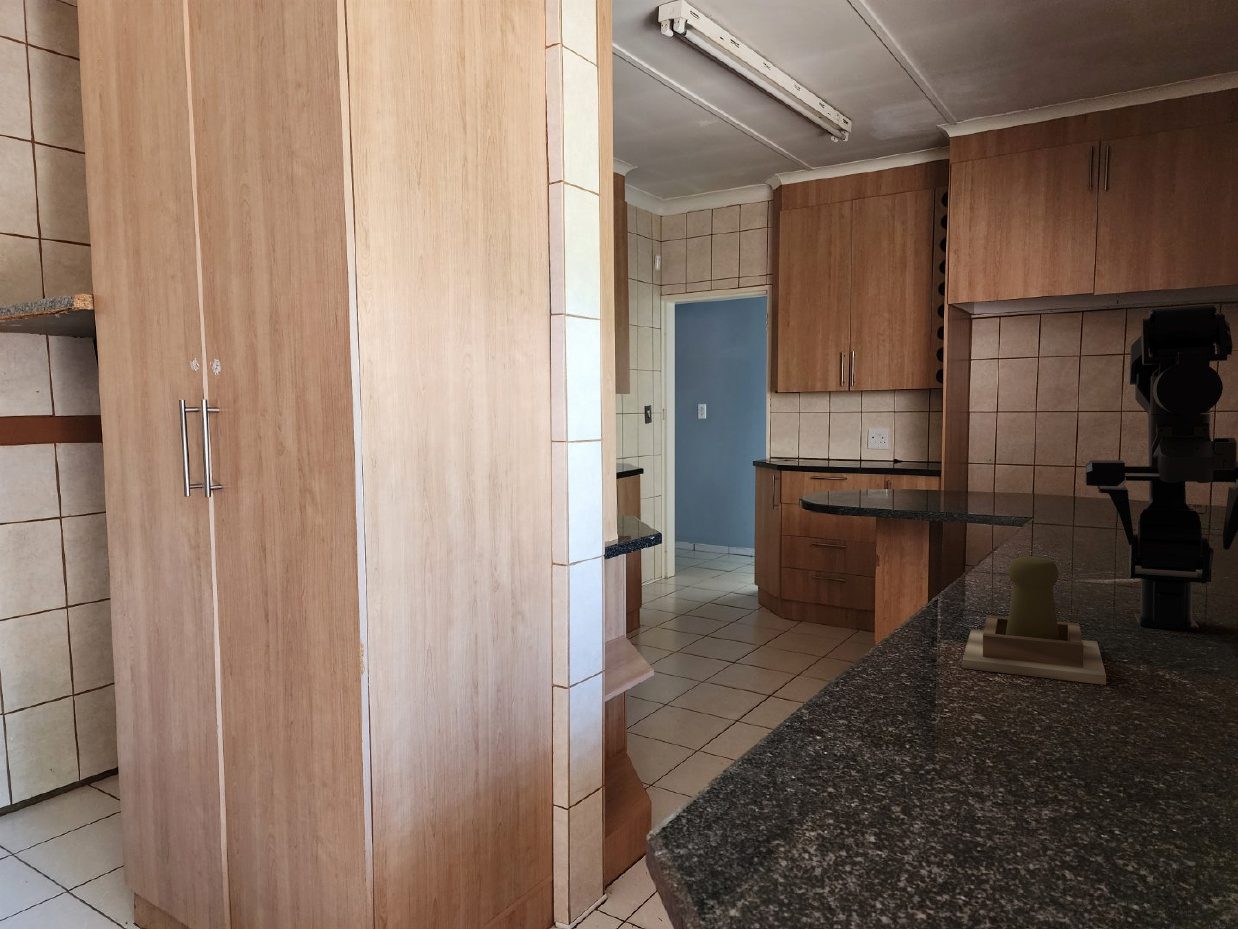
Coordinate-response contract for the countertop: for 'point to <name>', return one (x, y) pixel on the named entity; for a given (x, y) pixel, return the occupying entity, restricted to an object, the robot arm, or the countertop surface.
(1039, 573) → the cork
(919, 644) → the countertop surface
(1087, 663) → the socket board
